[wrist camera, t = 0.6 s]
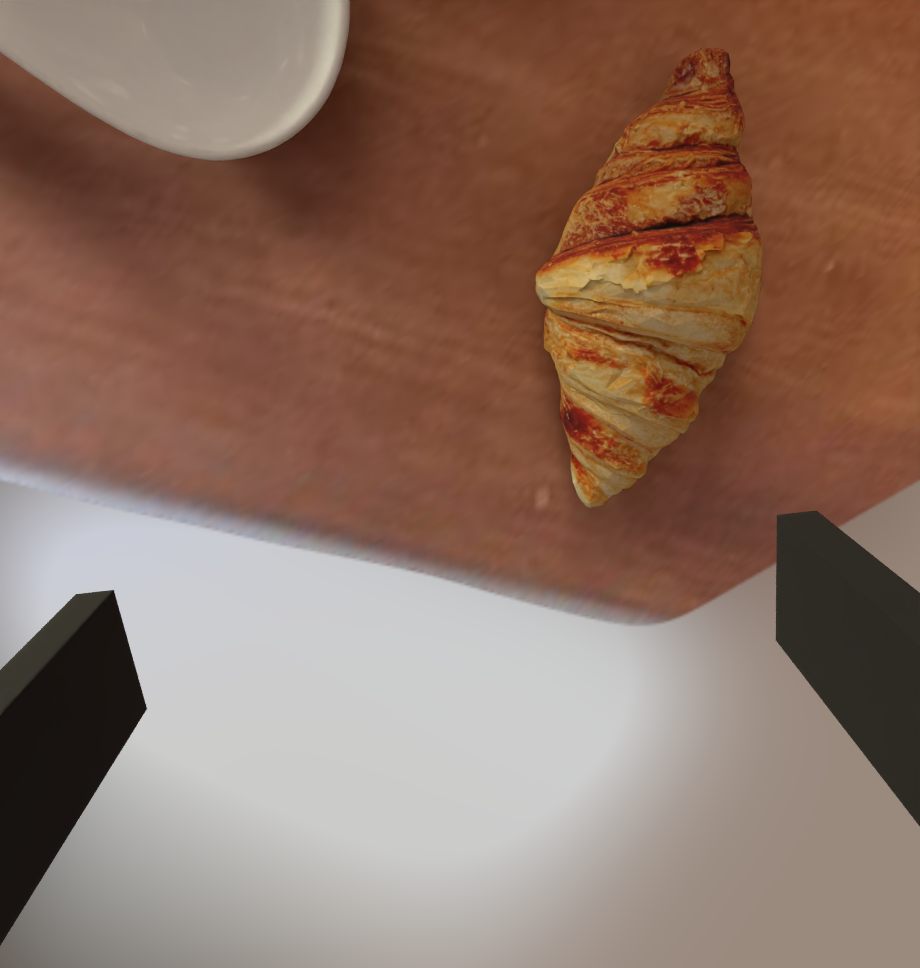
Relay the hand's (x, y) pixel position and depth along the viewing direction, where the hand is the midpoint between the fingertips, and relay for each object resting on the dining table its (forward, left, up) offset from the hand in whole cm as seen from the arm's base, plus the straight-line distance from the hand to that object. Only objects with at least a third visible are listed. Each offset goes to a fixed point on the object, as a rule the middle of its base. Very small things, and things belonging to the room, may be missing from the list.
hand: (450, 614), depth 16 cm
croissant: (-2, +9, -26) cm, 28 cm away
